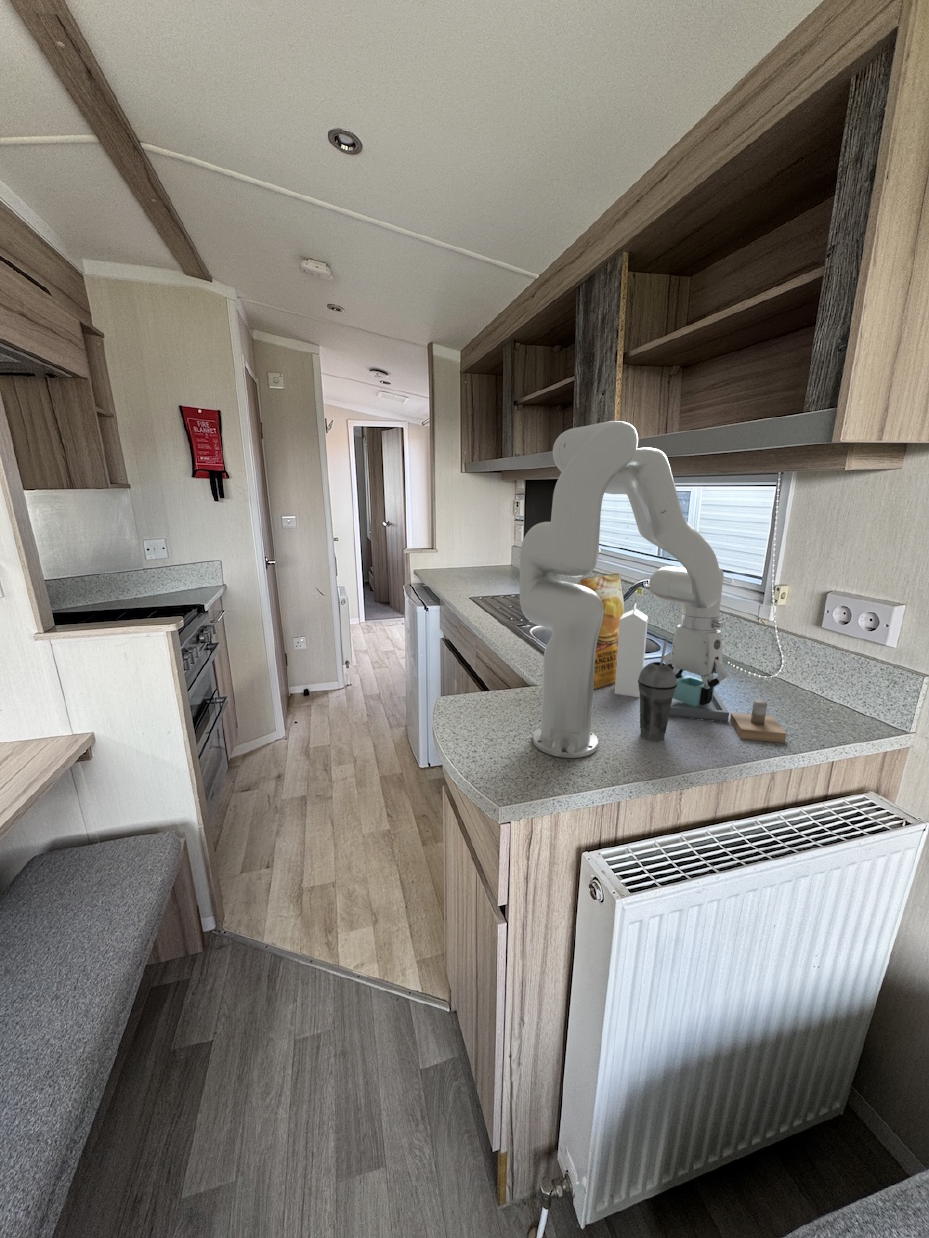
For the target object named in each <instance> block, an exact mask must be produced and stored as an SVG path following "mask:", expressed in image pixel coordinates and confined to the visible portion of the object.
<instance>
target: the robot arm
mask: <svg viewBox="0 0 929 1238" xmlns="http://www.w3.org/2000/svg"><path fill="white" fill-rule="evenodd" d="M638 444H639V436H638V432H637V429H636V428H635V427H634V425H632V424H631V423H629V422H626V421H619V420H611V421H605V422H599V423H598V422H597V423H593V424H588V425H584V426H579V427H573V428H569V429H567V430H565V431H563V432H562V433H560V435H558V437H557V438H556V440H555V442H554V444H553V446H552V460H553V462H554V464H555V465H556V467H557V469H558V470H559V471H560V475H559V477H558V479H557V481H556V483H555V486H554V489H553V493H552V504H551V505H552V506H551V515H550V516H551V517H550V521H543V522H538V523H536V524H535V525H533V526H532V527H531V528H530V529H529V530H528V531H527V533H525V535H524V537H523V540H522V543H521V546H520V552H519V553H520V556H519V605H520V609H521V612H522V614H523V616H524V617H525V619H527V620H528V622H530V623H532V624H534V625H537V626H540V627H541V628H545V629H548V630H550V631H551V632H552V633H551V636H550V639H549V640H548V642H547V644H546V645H545V649H544V653H543V664H542V691H541V692H542V694H541V695H542V696H541V697H542V699H541V720H540V721H541V722H540V723H541V724H540V725H541V726H540V727H538V728H537V729H536V730H534V732H533V735H532V743H533V745H534V746H535V747H536V748H537V749H538V750H540V751H541V752H543V753H545V754H548V755H549V756H550V755H551V756H553V757H558V758H564V759H577V758H583V757H588V756H590V755H592V754H593V753H595V752H596V751H597V749H598V748H599V739H598V737H597V735H596V734H595V733H594V732H592V715H593V702H594V701H593V699H594V689H593V686H594V667H595V653H596V645H597V640H598V635H599V631H600V628H601V624H602V620H603V615H604V608H603V603H602V601H601V599H600V597H599V596H598V595H597V594H596V593H595V592H594V591H593V590H591V589H589V588H587V587H585V586H582V585H578V583H574V582H573V583H572V582H569V581H563V580H562V576H565V577H570V578H582V577H585V576H588V575H589V574H592V572H593V571H594V570H595V569H596V566H597V563H598V557H599V552H600V551H599V548H600V537H601V536H600V533H601V516H602V505H603V498H604V494H608V495H626V496H627V499H628V501H629V505H630V508H631V510H632V513H633V516H634V520H635V523H636V526H637V529H638V532H639V534H640V536H641V537H643V538H644V539H645V540H646V541H648V542H650V543H651V544H653V545H654V546H656V547H658V548H659V549H661V550H664V551H665V552H666V553H668V554H670V556H672V557H673V558H675V559H676V560H677V561H679V563H680V564H681V565H682V566H683V567H681V566H669V565H668V566H664V567H660V568H659V569H656V570H655V571H654V573H653V574H652V575H651V576H650V579H649V582H648V585H649V586H648V588H649V591H650V592H651V594H652V595H653V597H655V598H656V599H658V600H660V601H664V602H668V603H671V604H672V603H673V604H677V605H681V612H680V614H681V615H680V620H679V621H680V623H679V624H678V625H677V627H676V629H675V632H674V637H673V640H672V641H673V642H672V645H671V651H669V652H668V653H667V654H665V656H664V661H663V663H664V664H666V665H668V666H669V667H670V668H671V669H672V670H673V671H674V673H675V676H676V679H677V678H680V677H684V675H683V674H684V672H685V671H686V672H688V673H692V674H695V675H698V676H700V679H702V682H703V685H704V687H703V688H702V689H701V697H700V705H705V704H708V703H710V702H711V700H712V694H713V687H714V688H715V687H717V686H718V685H720V684H722V682H724V681H725V680H727V679H729V677H730V675H729V673H728V672H727V671H726V669H725V668H724V666H723V636H722V632H721V630H719V629H722V628H723V626H724V622H723V621H720V612H721V611H720V607H721V601H722V594H723V585H724V584H723V583H724V576H725V575H724V570H722V568H720V566H719V562H718V559H717V555H716V554H715V552H714V550H713V549H712V547H711V546H710V544H709V543H708V542H707V541H706V539H705V538H704V537H703V536H702V535H701V534H700V532H698V531H697V529H695V528H694V527H693V526H692V525H691V524H690V523H689V522H688V521H687V520H686V519H685V517H684V514H683V510H682V507H681V506H682V505H681V503H680V499H679V496H678V493H677V489H676V488H677V487H676V484H675V481H674V477H673V473H672V469H671V466H670V463H669V460H668V457H667V455H666V453H664V452H663V451H662V450H660V449H658V448H653V447H640V448H639V447H638ZM714 674H717V677H715V675H714Z"/></svg>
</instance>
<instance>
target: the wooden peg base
mask: <svg viewBox="0 0 929 1238" xmlns="http://www.w3.org/2000/svg"><path fill="white" fill-rule="evenodd" d="M752 702H753V703H752V708H751V714H748V713H747V714H746V713H738V712H737V713H735V712H731V713H730V718H729V723H730V725H732V728H733V729H734V731H735V732H736V734H737V735H738V737H739V739H743V740H744V739H745V740H752V741H762V742H763V741H764V742H774V743H783V744H785V743H786V737H787V732H786V731H785V730H784V728H783V727H782V726H781V725H780V724H779V723H778V721H777V720H776V719H775V718H774V716H770V715H766V714H767V709H768V707H767V706H768V703H767V701H765V700H761V699H754V700H753V701H752Z"/></svg>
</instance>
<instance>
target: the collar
mask: <svg viewBox="0 0 929 1238" xmlns="http://www.w3.org/2000/svg"><path fill="white" fill-rule="evenodd" d="M683 676H684V675H683ZM676 683H677V687H676V688H675V693H674V696H673V698H674V699H676V700H679V701H682V702H684V703H687V704H689V705H692V706H698V705H700V697H701V689H702V688H703V687H704V685H703V682H702V678H698V677H695V676H692V675H690V674H688V675H685V676H684V677H680V678H677V679H676ZM714 690H715V687H713V694H712V700H713V695H714ZM712 700H711V701H712Z"/></svg>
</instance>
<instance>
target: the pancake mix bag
mask: <svg viewBox="0 0 929 1238" xmlns="http://www.w3.org/2000/svg"><path fill="white" fill-rule="evenodd" d="M577 584H578V585H582V586H585V587H587V588H589V589H591V590H593V591H594V592H595V593H596V594H597V595H598V596H599V597H600V599H601V601H602V603H603V608H604V615H603V620H602V624H601V628H600V631H599V635H598V640H597V645H596V653H595V667H594V686H593V690H597V689H601V688H604V687H607V686H610V685H612V684H615V680H616V666H617V652H618V638H619V624H620V618H621V617H622V615H623V614H625V613H626V611H625V599H624V598H625V597H624V592H623V585H622V576H620V573H611V574H607V575H600V574H599V575H594V576H588V577H583V578H580V580H579V581H578V582H577Z"/></svg>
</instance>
